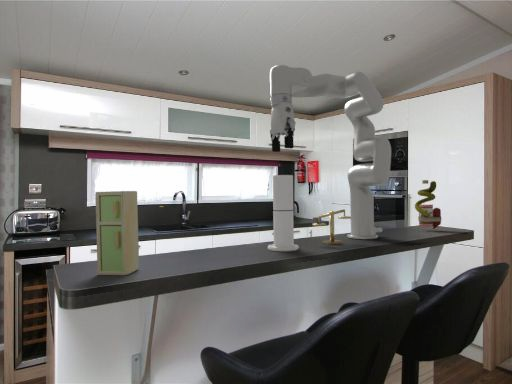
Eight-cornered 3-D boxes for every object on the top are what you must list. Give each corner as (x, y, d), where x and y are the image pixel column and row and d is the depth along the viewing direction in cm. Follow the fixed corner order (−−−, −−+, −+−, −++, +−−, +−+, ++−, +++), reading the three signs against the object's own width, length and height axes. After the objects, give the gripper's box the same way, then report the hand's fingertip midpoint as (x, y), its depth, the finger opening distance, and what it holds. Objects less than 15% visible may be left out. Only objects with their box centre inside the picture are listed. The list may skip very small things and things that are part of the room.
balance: (345, 241, 129) (345, 208, 129) (354, 242, 124) (353, 209, 125) (310, 244, 122) (309, 210, 122) (317, 246, 118) (316, 210, 118)
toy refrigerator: (94, 275, 79) (93, 191, 79) (112, 268, 87) (111, 191, 87) (123, 276, 78) (122, 190, 78) (139, 269, 85) (138, 191, 86)
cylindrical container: (270, 246, 113) (269, 175, 113) (278, 243, 119) (277, 176, 119) (289, 247, 109) (288, 174, 109) (296, 244, 116) (295, 175, 116)
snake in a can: (416, 231, 156) (415, 180, 156) (414, 229, 165) (413, 180, 165) (443, 232, 151) (442, 179, 151) (440, 229, 161) (439, 180, 161)
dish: (289, 245, 121) (289, 242, 121) (304, 249, 111) (304, 246, 111) (262, 247, 117) (262, 244, 117) (276, 252, 107) (276, 249, 107)
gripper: (303, 96, 108) (304, 147, 108) (279, 108, 123) (280, 153, 124) (283, 94, 105) (284, 146, 105) (261, 107, 121) (262, 152, 121)
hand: (282, 150), depth 114 cm, fingers open, 9 cm apart
